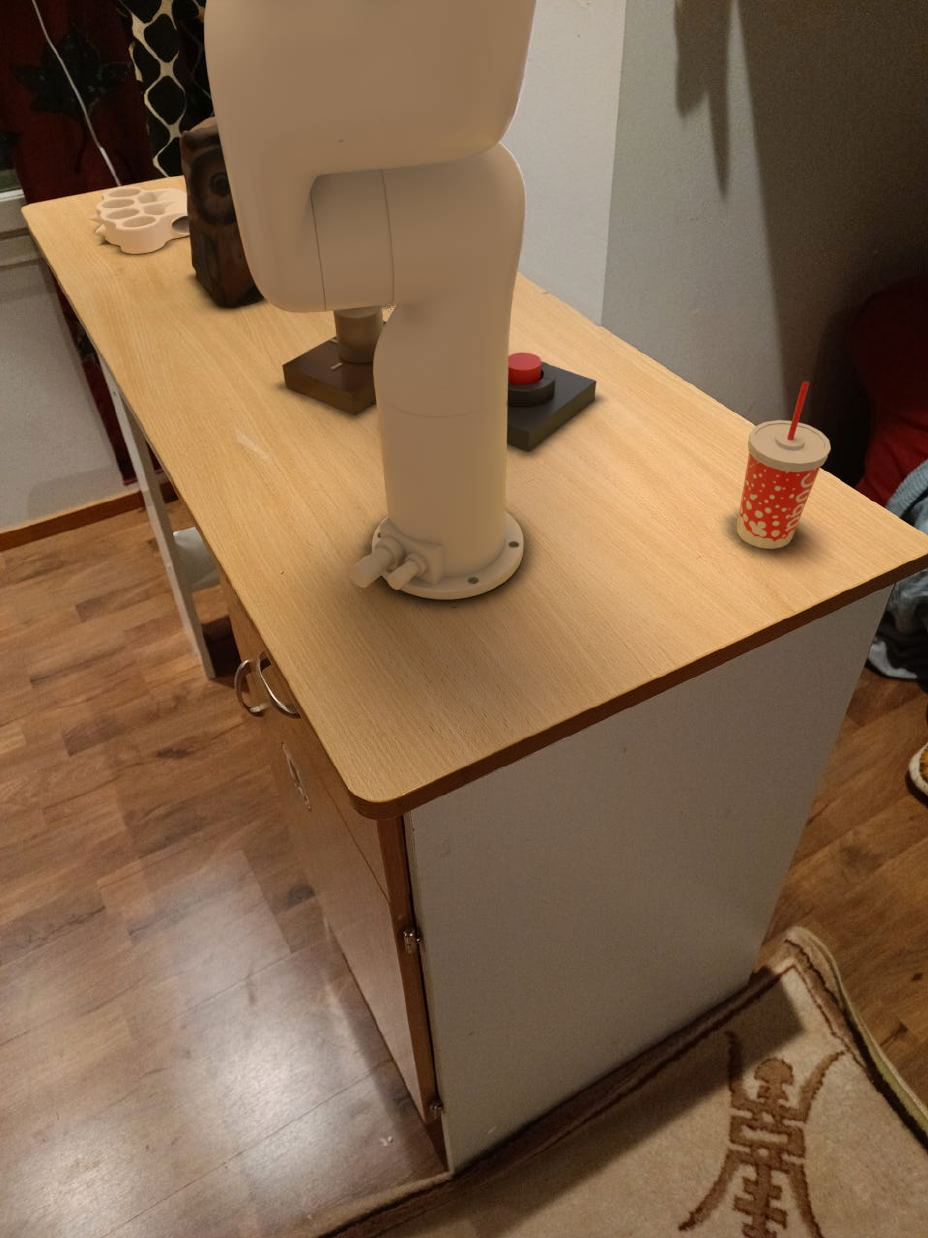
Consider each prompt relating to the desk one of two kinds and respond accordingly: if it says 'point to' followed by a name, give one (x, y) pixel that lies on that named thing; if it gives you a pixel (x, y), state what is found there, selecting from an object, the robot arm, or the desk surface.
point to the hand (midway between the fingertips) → (378, 196)
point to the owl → (214, 219)
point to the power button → (524, 368)
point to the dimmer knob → (358, 332)
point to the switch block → (545, 405)
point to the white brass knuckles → (142, 218)
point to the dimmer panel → (332, 378)
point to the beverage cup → (779, 478)
